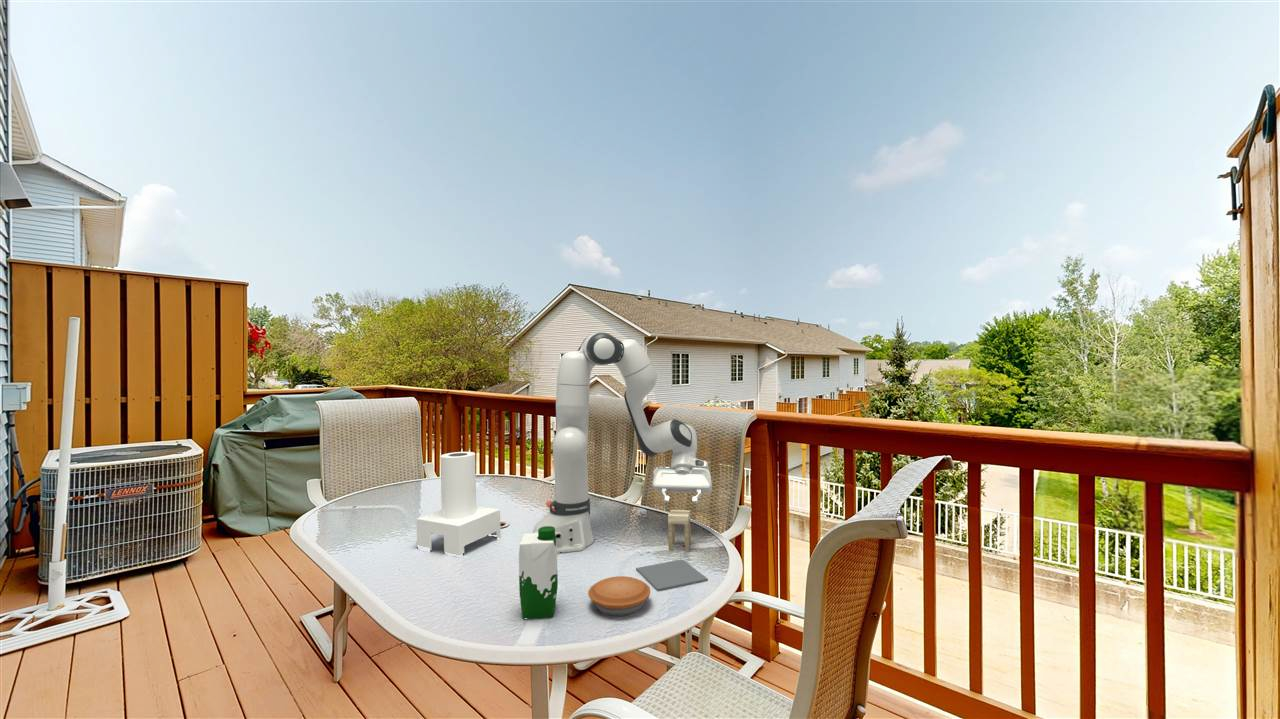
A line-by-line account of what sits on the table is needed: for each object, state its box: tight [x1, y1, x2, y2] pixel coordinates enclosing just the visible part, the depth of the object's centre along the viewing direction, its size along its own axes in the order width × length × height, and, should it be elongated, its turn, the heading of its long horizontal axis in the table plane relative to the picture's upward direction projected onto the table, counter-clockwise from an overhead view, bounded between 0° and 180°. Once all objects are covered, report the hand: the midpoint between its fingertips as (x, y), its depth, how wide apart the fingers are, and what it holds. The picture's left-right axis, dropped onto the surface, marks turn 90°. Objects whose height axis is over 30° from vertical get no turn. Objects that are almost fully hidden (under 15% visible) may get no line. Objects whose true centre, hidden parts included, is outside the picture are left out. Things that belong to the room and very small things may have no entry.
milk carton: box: [518, 526, 559, 619], centre depth 124 cm, size 9×9×20 cm
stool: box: [667, 509, 692, 552], centre depth 165 cm, size 6×6×11 cm
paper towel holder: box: [416, 451, 502, 555], centre depth 172 cm, size 19×19×30 cm
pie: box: [587, 575, 651, 617], centre depth 127 cm, size 15×16×5 cm
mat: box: [635, 559, 709, 592], centre depth 144 cm, size 15×15×1 cm
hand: (680, 502), depth 169 cm, fingers open, 8 cm apart
